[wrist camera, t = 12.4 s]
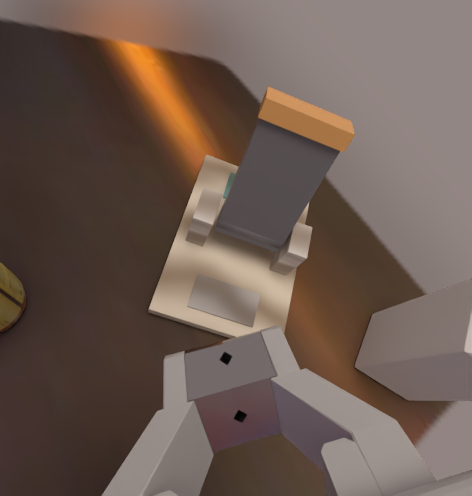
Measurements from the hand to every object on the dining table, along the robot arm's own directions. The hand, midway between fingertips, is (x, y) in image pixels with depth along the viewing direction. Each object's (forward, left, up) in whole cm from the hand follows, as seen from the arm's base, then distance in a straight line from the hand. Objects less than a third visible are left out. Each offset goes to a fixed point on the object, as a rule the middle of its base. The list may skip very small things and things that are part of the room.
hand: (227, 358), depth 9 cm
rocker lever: (+9, +14, -22) cm, 28 cm away
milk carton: (+26, +1, -28) cm, 38 cm away
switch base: (+9, +14, -28) cm, 32 cm away
